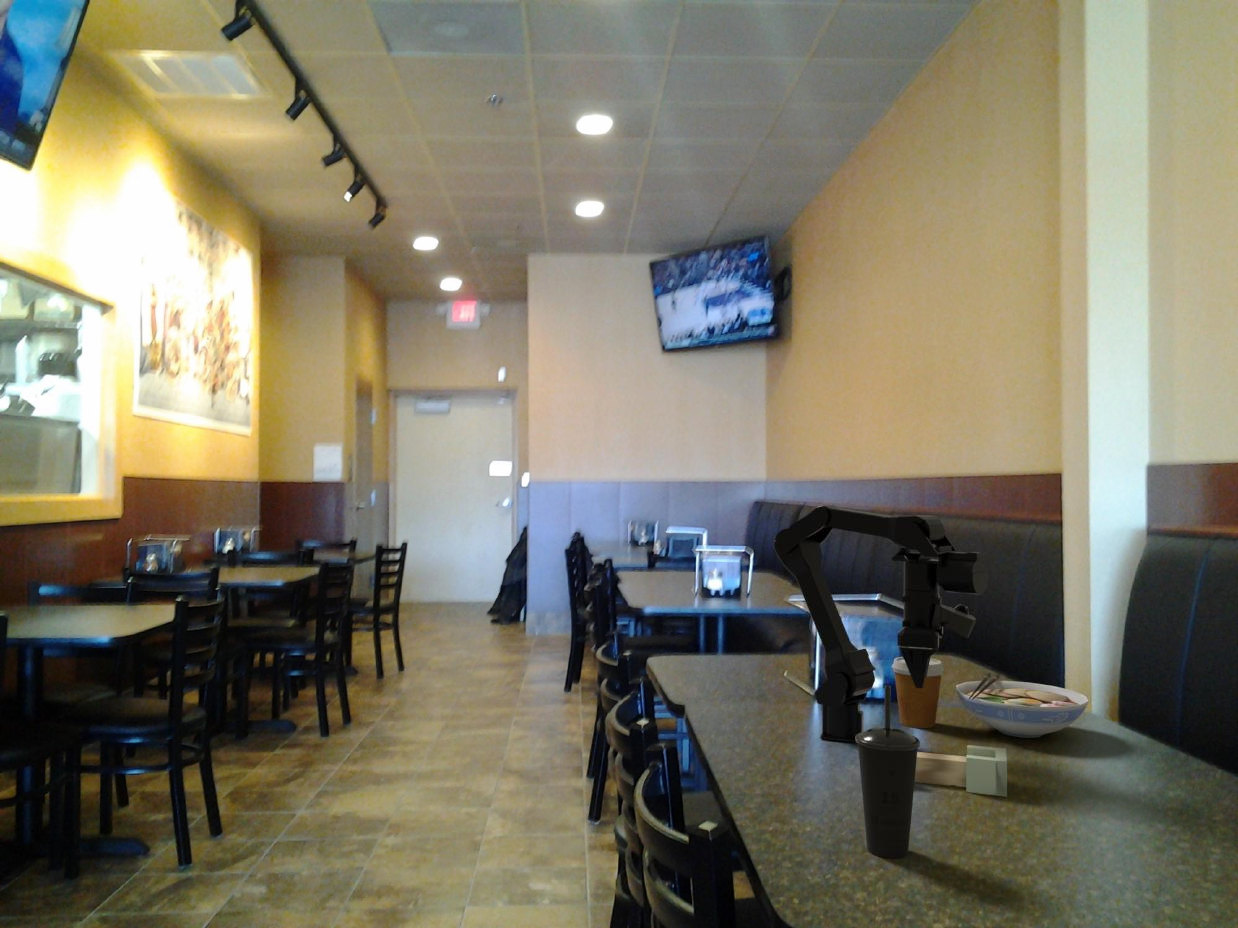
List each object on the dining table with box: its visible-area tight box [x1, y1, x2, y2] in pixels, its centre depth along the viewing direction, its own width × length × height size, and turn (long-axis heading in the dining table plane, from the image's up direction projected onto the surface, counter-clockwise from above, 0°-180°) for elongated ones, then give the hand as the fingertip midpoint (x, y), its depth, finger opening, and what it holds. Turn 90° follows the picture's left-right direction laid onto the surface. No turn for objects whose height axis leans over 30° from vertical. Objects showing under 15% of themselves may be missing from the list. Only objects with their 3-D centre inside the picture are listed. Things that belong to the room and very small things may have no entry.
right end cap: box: [965, 744, 1008, 798], centre depth 140 cm, size 6×8×5 cm
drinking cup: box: [855, 685, 921, 859], centre depth 115 cm, size 8×8×20 cm
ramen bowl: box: [955, 672, 1090, 739], centre depth 173 cm, size 25×23×8 cm
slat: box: [915, 751, 966, 788], centre depth 143 cm, size 15×3×4 cm, turn 71°
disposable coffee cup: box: [891, 656, 945, 729], centre depth 178 cm, size 10×10×12 cm
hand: (921, 682), depth 157 cm, fingers open, 9 cm apart
